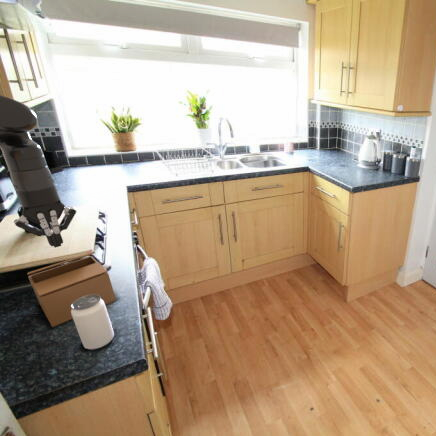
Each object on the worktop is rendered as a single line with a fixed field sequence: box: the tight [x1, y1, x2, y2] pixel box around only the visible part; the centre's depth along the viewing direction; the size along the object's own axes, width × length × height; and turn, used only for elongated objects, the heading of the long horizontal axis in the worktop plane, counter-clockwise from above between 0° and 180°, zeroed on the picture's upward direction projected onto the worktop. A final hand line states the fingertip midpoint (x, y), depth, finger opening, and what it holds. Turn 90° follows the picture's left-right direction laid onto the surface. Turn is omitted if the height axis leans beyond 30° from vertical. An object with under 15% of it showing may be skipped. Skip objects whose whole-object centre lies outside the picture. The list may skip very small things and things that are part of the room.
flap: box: [26, 251, 96, 276], centre depth 90 cm, size 15×7×1 cm, turn 140°
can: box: [71, 295, 115, 350], centre depth 77 cm, size 6×6×12 cm
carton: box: [27, 255, 117, 328], centre depth 90 cm, size 15×14×10 cm
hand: (57, 245), depth 86 cm, fingers closed
